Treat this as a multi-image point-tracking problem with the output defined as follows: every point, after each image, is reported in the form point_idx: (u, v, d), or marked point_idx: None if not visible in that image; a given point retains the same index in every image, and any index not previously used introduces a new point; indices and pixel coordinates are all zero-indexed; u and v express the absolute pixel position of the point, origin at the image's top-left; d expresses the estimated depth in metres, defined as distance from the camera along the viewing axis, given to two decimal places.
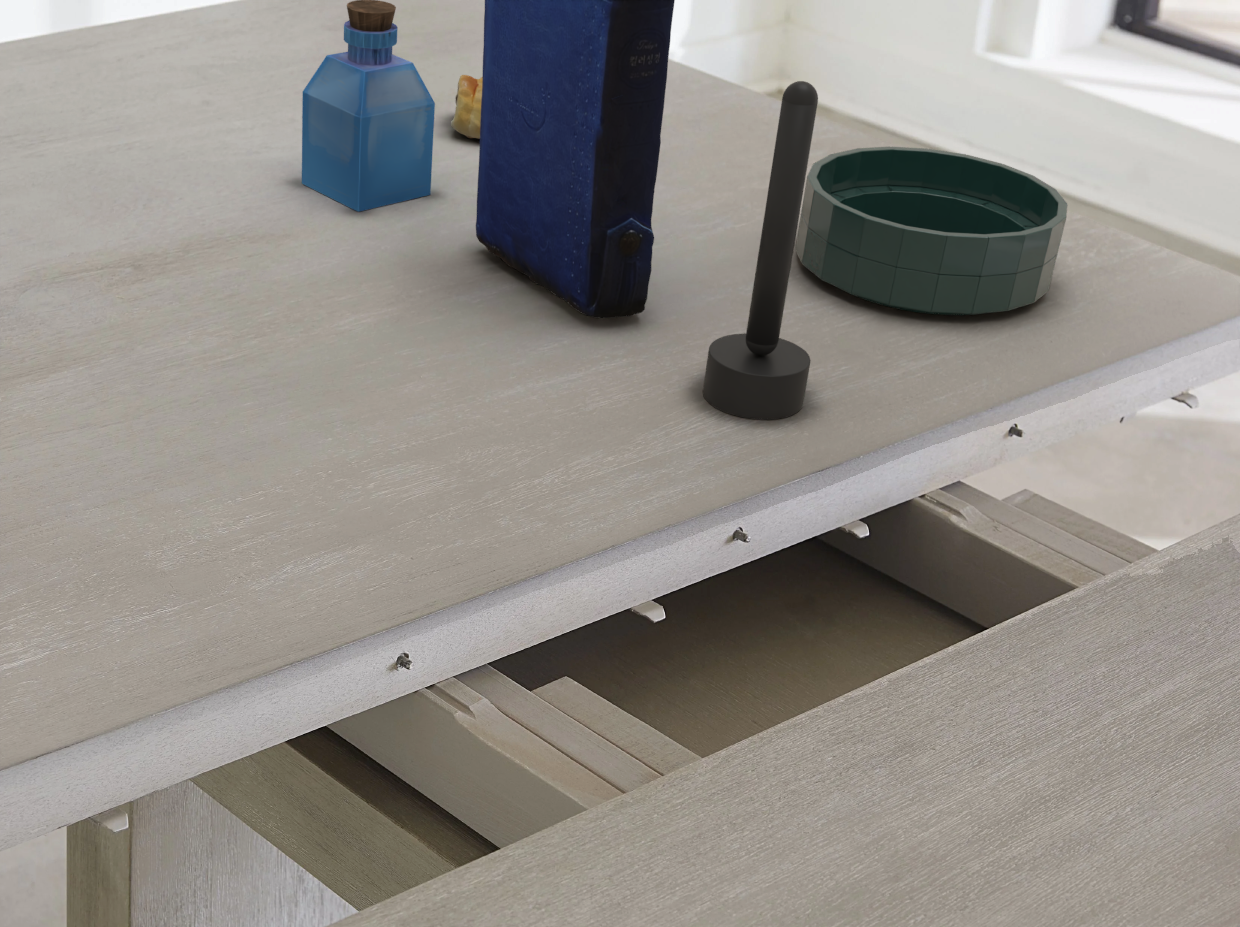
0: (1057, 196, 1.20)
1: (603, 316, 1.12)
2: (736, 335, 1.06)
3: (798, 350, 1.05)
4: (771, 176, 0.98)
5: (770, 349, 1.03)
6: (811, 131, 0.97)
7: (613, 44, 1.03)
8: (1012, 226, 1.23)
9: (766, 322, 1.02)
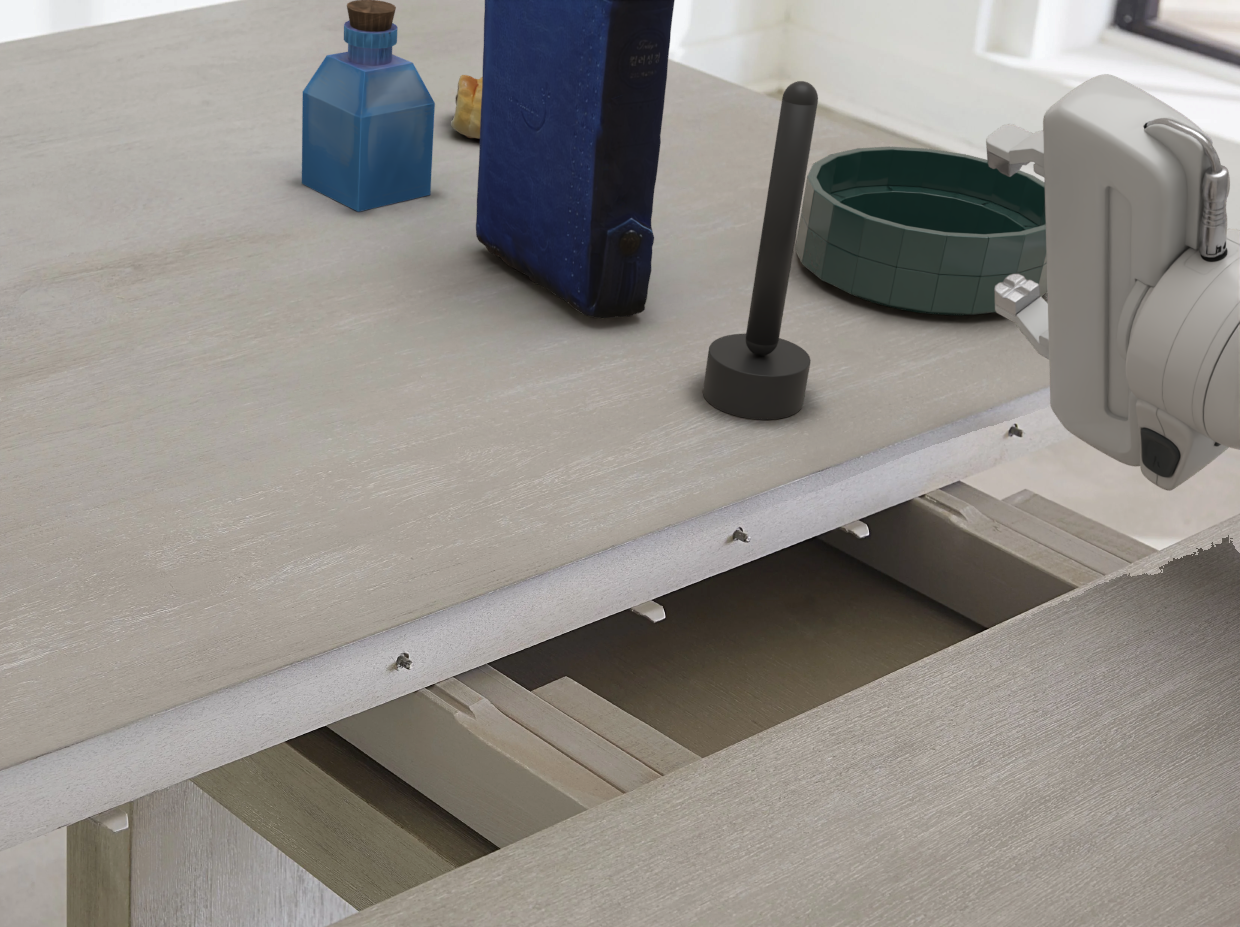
0: None
1: (603, 316, 1.12)
2: (736, 335, 1.06)
3: (798, 350, 1.05)
4: (771, 176, 0.98)
5: (770, 349, 1.03)
6: (811, 131, 0.97)
7: (612, 44, 1.03)
8: (1012, 226, 1.23)
9: (766, 322, 1.02)
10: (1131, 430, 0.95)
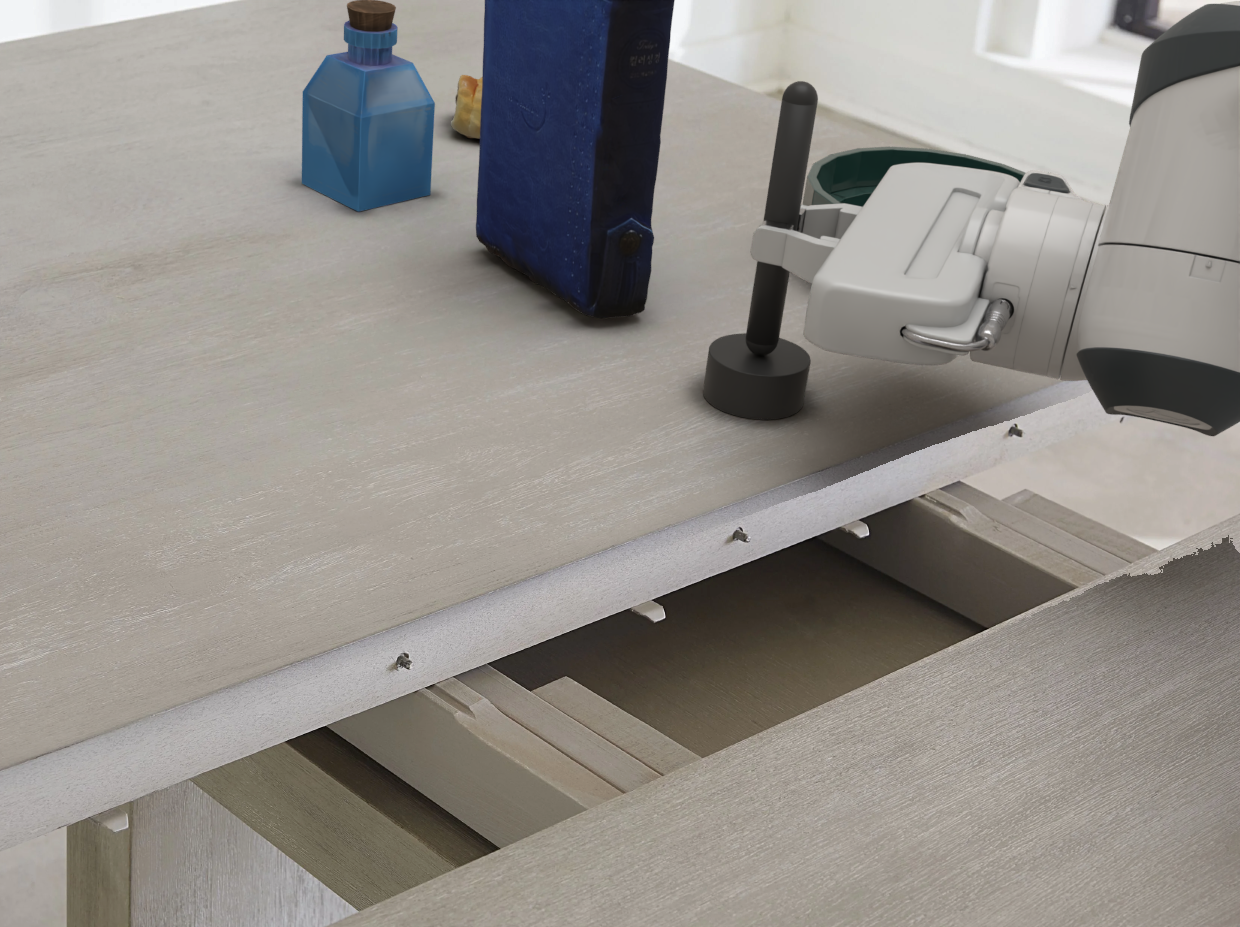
0: None
1: (603, 316, 1.12)
2: (736, 335, 1.06)
3: (798, 349, 1.05)
4: (771, 176, 0.98)
5: (770, 349, 1.03)
6: (811, 131, 0.97)
7: (612, 44, 1.03)
8: None
9: (766, 322, 1.02)
10: None
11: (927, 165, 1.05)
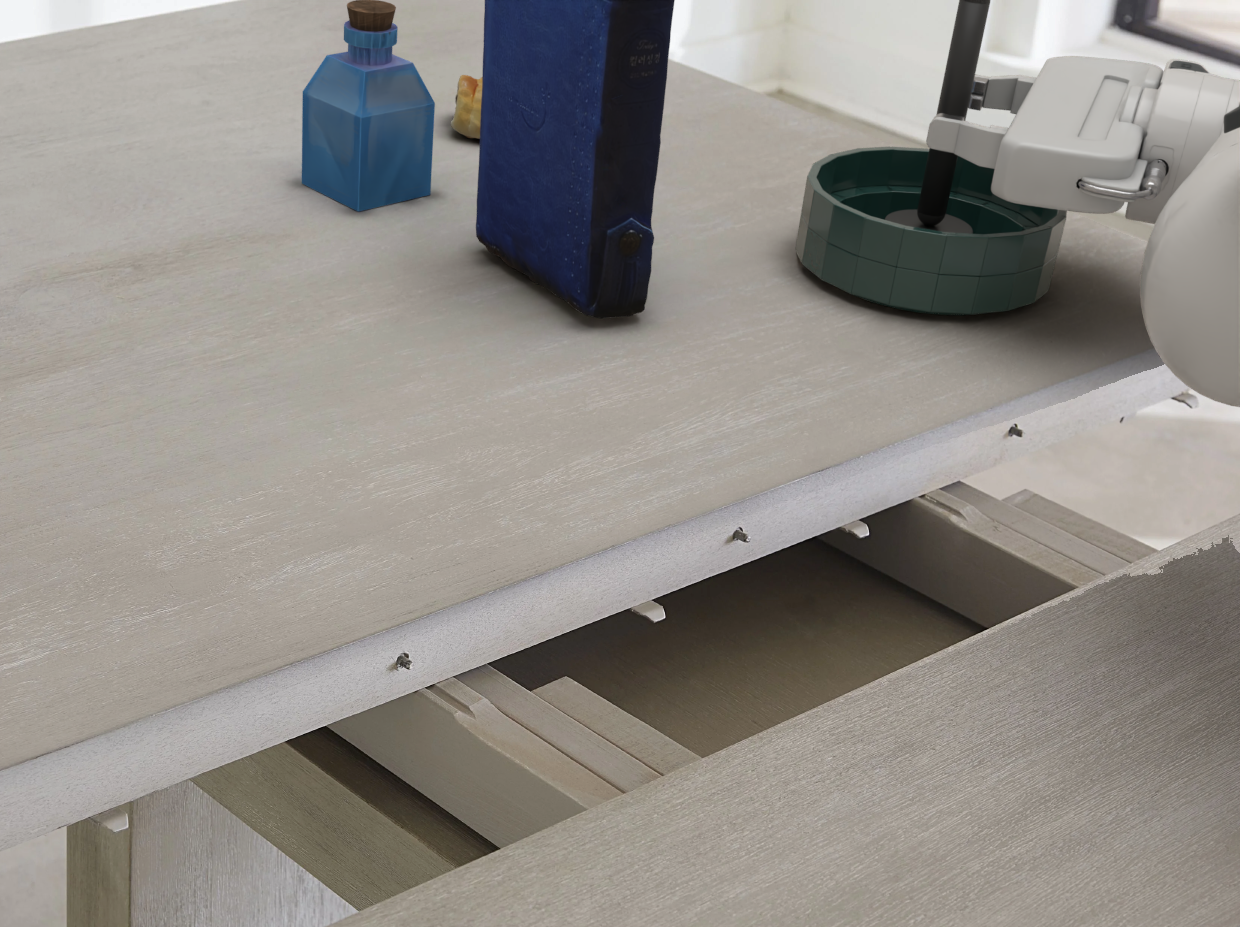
0: None
1: (603, 316, 1.12)
2: (906, 210, 1.23)
3: (960, 222, 1.22)
4: (947, 66, 1.15)
5: (939, 220, 1.20)
6: (984, 27, 1.14)
7: (612, 44, 1.03)
8: (1012, 226, 1.23)
9: (937, 195, 1.19)
10: None
11: (1079, 57, 1.21)
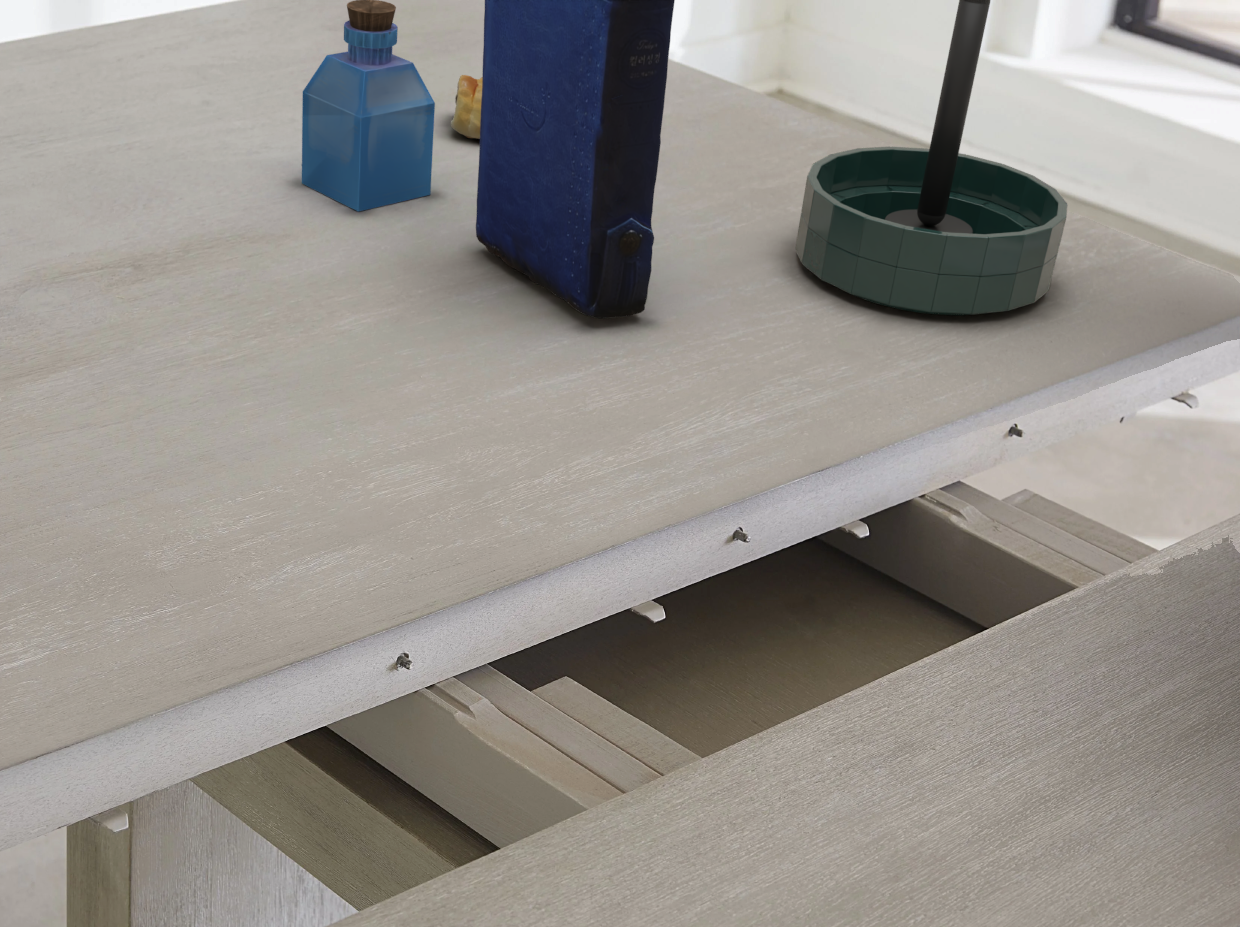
0: (1057, 196, 1.20)
1: (603, 316, 1.12)
2: (906, 210, 1.23)
3: (960, 222, 1.22)
4: (947, 66, 1.15)
5: (939, 220, 1.20)
6: (984, 27, 1.14)
7: (613, 44, 1.03)
8: (1012, 226, 1.23)
9: (937, 195, 1.19)
10: None
11: None
